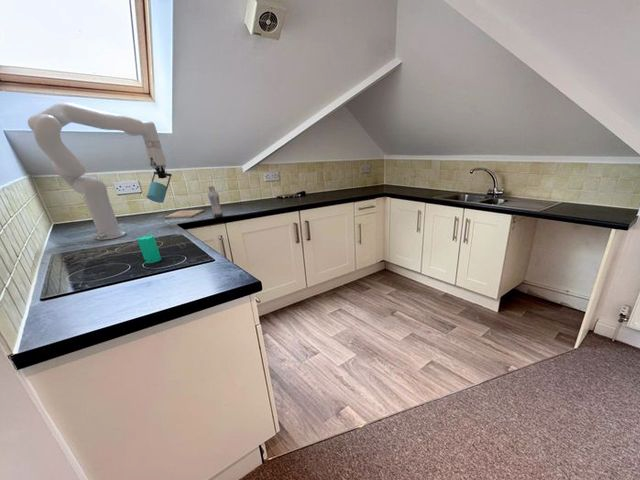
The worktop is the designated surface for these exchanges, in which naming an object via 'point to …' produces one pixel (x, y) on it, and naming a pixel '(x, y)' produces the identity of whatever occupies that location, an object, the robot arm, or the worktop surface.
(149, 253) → the candle
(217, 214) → the plastic bottle
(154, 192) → the bucket
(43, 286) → the worktop surface
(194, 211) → the board
